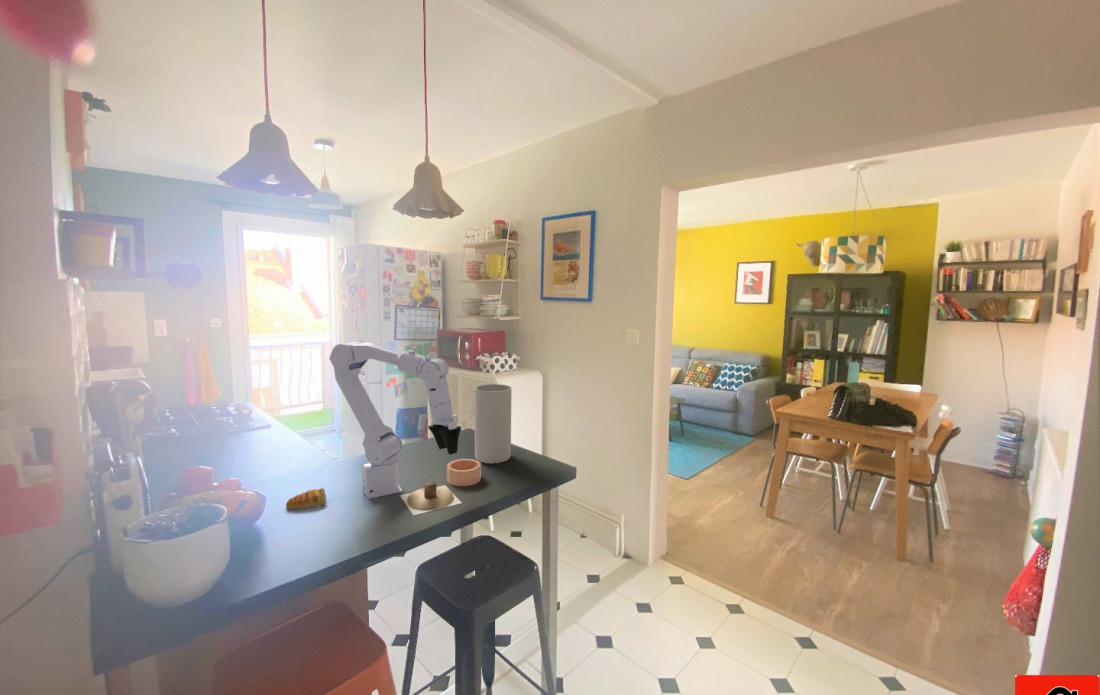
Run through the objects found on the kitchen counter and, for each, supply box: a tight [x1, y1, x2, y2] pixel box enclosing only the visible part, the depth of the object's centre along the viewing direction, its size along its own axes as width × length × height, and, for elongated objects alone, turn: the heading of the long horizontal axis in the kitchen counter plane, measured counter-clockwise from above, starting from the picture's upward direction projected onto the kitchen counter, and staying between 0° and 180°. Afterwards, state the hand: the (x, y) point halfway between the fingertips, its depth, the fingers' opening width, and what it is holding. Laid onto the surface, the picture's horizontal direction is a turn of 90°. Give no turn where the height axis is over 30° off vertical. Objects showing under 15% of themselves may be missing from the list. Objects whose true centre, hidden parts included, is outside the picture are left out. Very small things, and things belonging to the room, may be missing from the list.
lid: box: [407, 481, 454, 510], centre depth 119 cm, size 12×12×4 cm
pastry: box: [285, 487, 327, 511], centre depth 116 cm, size 9×7×4 cm
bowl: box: [446, 458, 482, 487], centre depth 133 cm, size 10×10×5 cm
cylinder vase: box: [474, 383, 512, 465], centre depth 151 cm, size 12×12×25 cm
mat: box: [399, 484, 463, 516], centre depth 119 cm, size 13×13×1 cm
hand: (448, 450), depth 120 cm, fingers open, 7 cm apart
